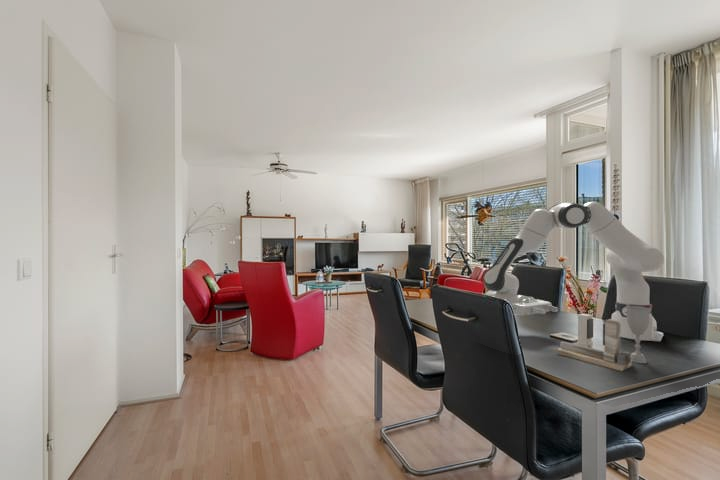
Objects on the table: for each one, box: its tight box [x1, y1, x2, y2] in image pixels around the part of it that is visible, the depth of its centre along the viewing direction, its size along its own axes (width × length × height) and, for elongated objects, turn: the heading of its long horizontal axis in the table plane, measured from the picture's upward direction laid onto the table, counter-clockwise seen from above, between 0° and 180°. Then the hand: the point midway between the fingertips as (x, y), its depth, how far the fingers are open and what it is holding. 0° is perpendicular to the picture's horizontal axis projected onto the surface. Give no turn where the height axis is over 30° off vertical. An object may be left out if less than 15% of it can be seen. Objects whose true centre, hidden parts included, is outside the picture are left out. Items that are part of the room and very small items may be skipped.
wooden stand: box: [555, 318, 633, 372], centre depth 119 cm, size 8×20×14 cm, turn 34°
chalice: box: [625, 306, 652, 364], centre depth 119 cm, size 7×7×18 cm
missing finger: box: [576, 313, 594, 349], centre depth 131 cm, size 6×4×13 cm, turn 124°
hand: (551, 310), depth 141 cm, fingers open, 8 cm apart
